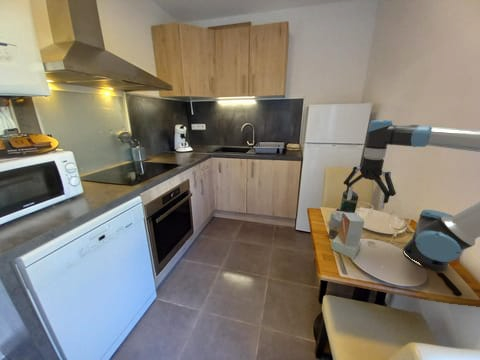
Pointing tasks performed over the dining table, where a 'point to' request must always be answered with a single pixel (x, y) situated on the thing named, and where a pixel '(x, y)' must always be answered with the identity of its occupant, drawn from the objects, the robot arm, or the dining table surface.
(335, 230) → the walnut cube
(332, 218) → the lumpy-topped squat cylinder
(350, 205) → the coffee jar
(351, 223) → the small box
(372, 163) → the robot arm
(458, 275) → the dining table surface
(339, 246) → the pedestal
